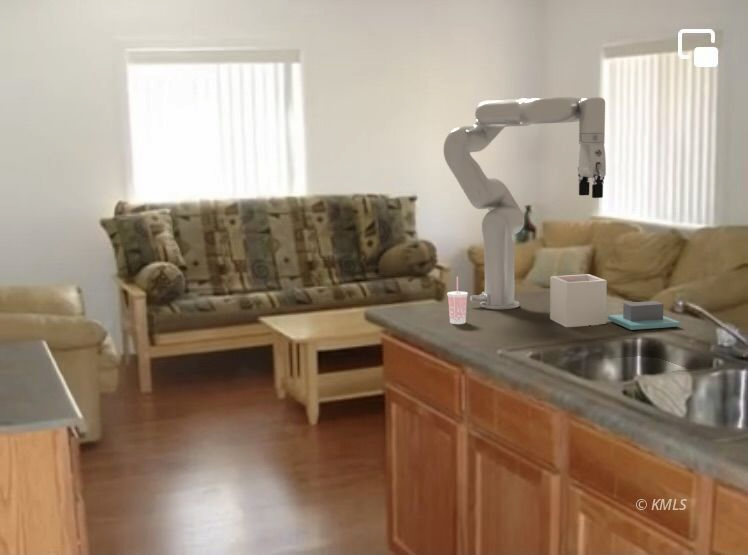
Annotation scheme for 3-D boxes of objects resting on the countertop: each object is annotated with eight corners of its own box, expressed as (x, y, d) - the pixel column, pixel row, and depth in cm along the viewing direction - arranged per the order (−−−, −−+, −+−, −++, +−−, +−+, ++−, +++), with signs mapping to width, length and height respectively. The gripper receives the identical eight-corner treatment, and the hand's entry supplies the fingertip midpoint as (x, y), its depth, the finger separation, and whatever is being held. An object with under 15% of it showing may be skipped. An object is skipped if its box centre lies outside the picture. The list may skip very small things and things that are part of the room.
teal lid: (630, 332, 282) (631, 309, 281) (607, 322, 296) (607, 300, 295) (679, 329, 285) (680, 306, 284) (654, 318, 299) (654, 297, 298)
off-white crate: (566, 327, 290) (566, 282, 287) (550, 319, 302) (550, 276, 299) (606, 324, 292) (606, 280, 290) (588, 316, 304) (589, 274, 302)
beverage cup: (471, 321, 301) (470, 275, 299) (463, 325, 296) (462, 278, 293) (452, 319, 304) (452, 274, 301) (444, 323, 298) (443, 277, 296)
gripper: (615, 139, 292) (614, 198, 294) (591, 138, 308) (590, 193, 311) (591, 140, 290) (590, 199, 293) (568, 138, 307) (567, 194, 310)
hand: (590, 196), depth 302 cm, fingers open, 9 cm apart
